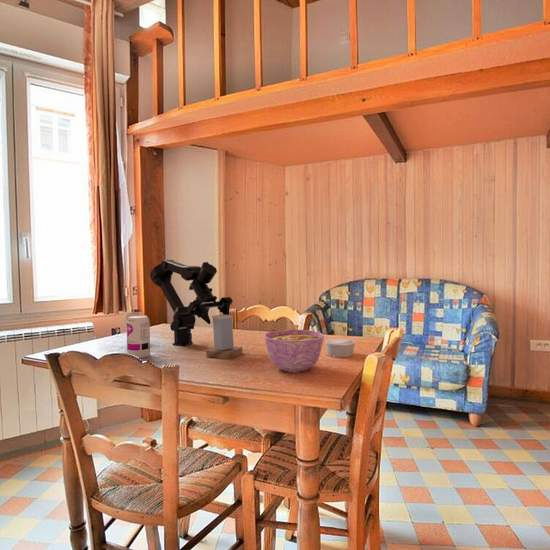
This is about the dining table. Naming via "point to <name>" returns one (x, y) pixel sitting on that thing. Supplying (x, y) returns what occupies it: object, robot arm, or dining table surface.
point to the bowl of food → (294, 348)
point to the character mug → (131, 315)
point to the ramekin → (340, 347)
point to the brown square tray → (224, 353)
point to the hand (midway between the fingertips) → (219, 322)
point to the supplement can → (138, 336)
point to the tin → (223, 332)
